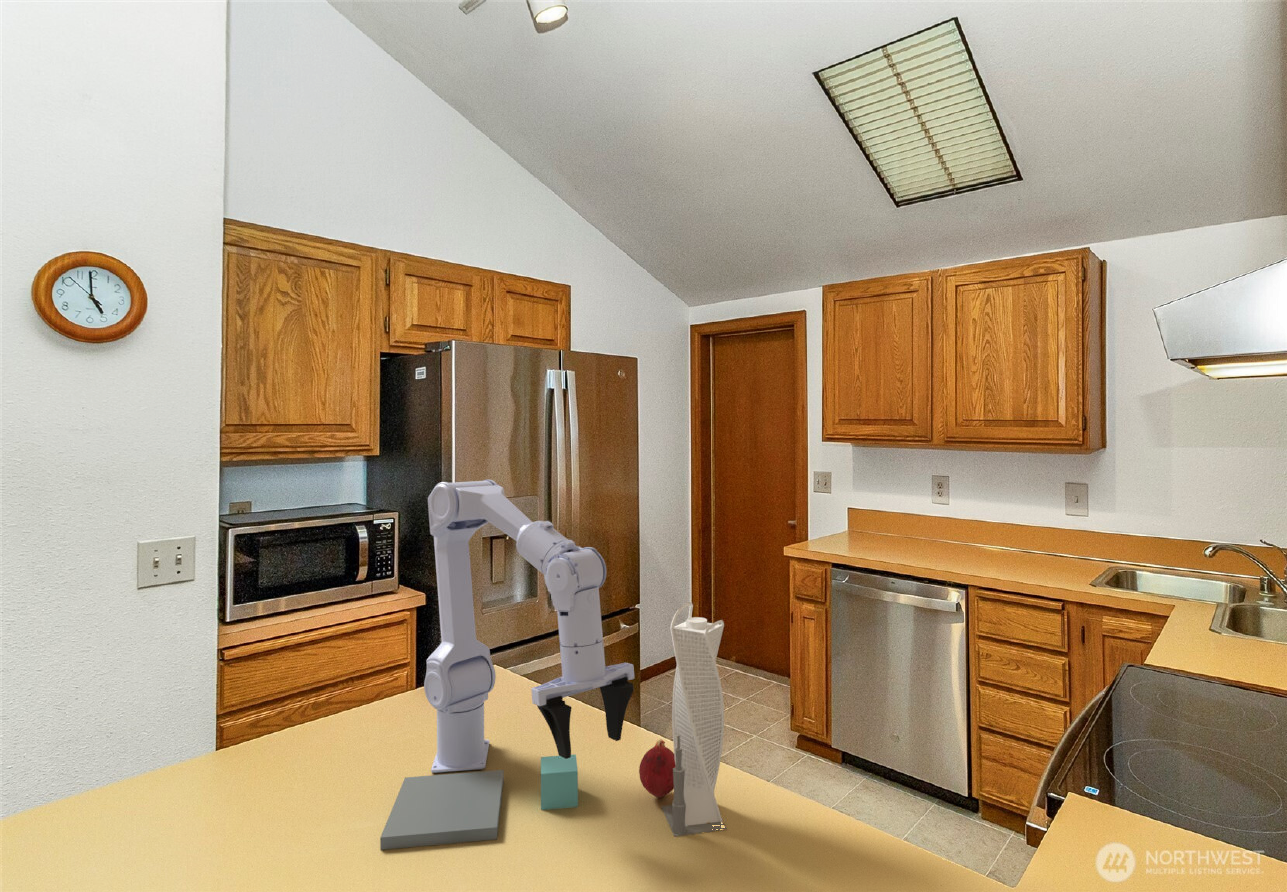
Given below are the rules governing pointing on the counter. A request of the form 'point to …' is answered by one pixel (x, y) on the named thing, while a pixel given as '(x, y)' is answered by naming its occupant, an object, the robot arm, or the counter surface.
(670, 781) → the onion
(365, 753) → the counter surface
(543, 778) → the cube
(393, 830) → the cutting board
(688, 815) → the skyscraper
